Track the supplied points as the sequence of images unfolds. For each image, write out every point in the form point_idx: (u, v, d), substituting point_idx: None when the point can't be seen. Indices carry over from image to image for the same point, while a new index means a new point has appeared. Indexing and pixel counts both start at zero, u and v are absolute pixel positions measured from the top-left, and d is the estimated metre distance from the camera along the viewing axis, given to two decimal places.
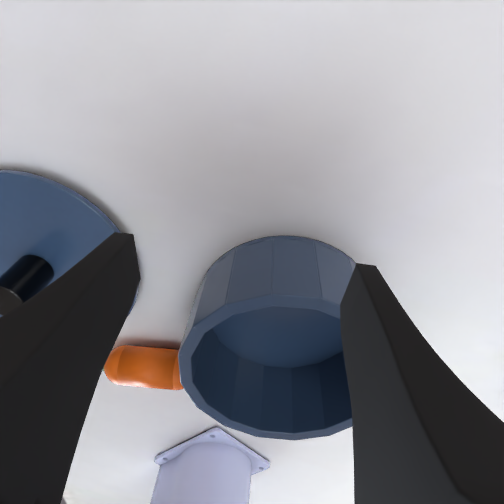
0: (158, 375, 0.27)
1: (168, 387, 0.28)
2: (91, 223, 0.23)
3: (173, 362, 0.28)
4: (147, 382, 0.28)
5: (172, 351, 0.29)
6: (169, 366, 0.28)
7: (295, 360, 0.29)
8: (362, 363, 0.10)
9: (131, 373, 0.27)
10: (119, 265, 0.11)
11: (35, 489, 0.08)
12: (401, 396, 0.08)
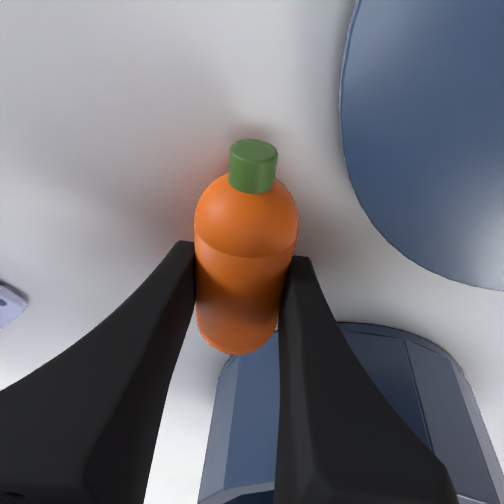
0: (256, 325, 0.12)
1: (222, 339, 0.12)
2: None
3: (274, 327, 0.13)
4: (237, 311, 0.11)
5: None
6: (272, 328, 0.13)
7: None
8: (286, 353, 0.10)
9: (263, 283, 0.10)
10: (189, 274, 0.11)
11: (129, 501, 0.08)
12: (300, 382, 0.08)
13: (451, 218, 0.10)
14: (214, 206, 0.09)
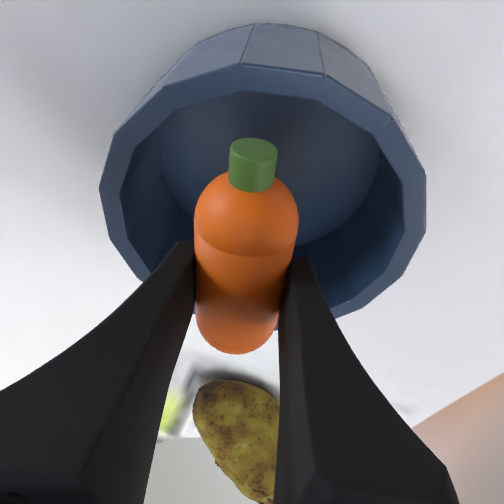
0: (256, 324, 0.12)
1: (222, 338, 0.12)
2: None
3: (274, 326, 0.13)
4: (237, 310, 0.11)
5: None
6: (271, 327, 0.13)
7: (178, 178, 0.20)
8: (286, 353, 0.10)
9: (262, 283, 0.10)
10: (189, 274, 0.11)
11: (129, 501, 0.08)
12: (300, 383, 0.08)
13: None
14: (214, 205, 0.09)
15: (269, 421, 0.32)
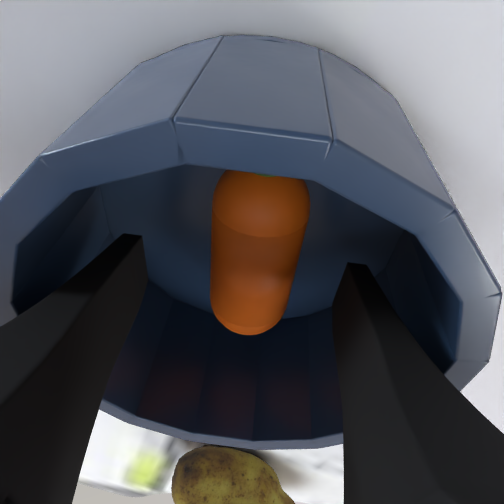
0: (277, 301, 0.13)
1: (245, 320, 0.13)
2: None
3: (287, 302, 0.14)
4: (261, 290, 0.12)
5: None
6: (287, 303, 0.14)
7: None
8: (352, 362, 0.10)
9: (286, 260, 0.11)
10: (129, 266, 0.11)
11: (48, 491, 0.08)
12: (387, 394, 0.08)
13: None
14: (238, 193, 0.10)
15: (262, 499, 0.27)
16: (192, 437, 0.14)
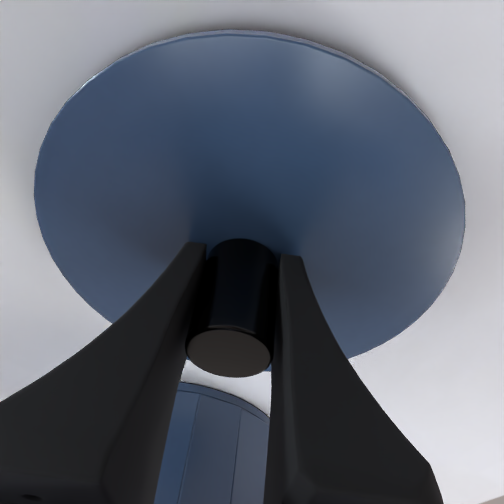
0: None
1: None
2: None
3: None
4: None
5: None
6: None
7: None
8: (277, 352, 0.10)
9: None
10: (197, 275, 0.11)
11: (141, 503, 0.08)
12: (288, 381, 0.08)
13: None
14: None
15: None
16: None
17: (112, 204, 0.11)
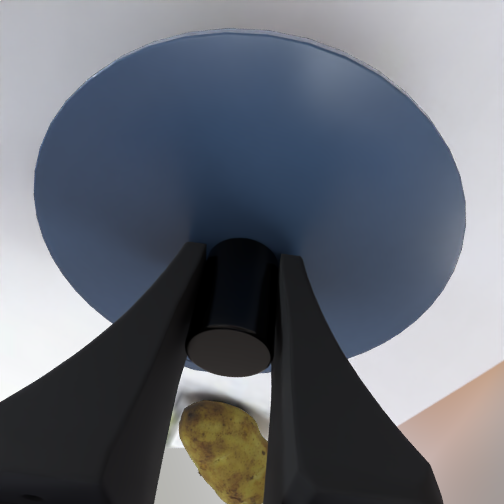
0: None
1: None
2: None
3: None
4: None
5: None
6: None
7: None
8: (277, 352, 0.10)
9: None
10: (198, 275, 0.11)
11: (141, 503, 0.08)
12: (288, 381, 0.08)
13: None
14: None
15: (245, 437, 0.37)
16: (196, 367, 0.24)
17: (111, 204, 0.11)
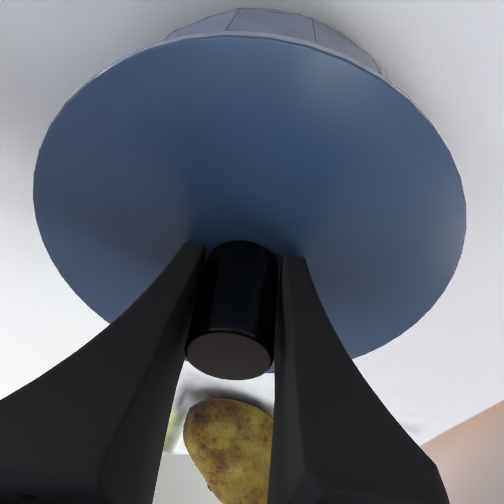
0: None
1: None
2: None
3: None
4: None
5: None
6: None
7: None
8: (281, 352, 0.10)
9: None
10: (196, 275, 0.11)
11: (139, 503, 0.08)
12: (293, 382, 0.08)
13: None
14: None
15: (265, 443, 0.30)
16: None
17: (111, 206, 0.11)
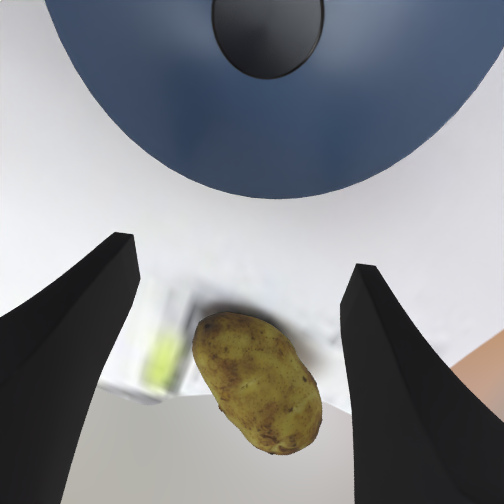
0: None
1: None
2: (364, 158, 0.13)
3: None
4: None
5: None
6: None
7: None
8: (362, 363, 0.10)
9: None
10: (119, 265, 0.11)
11: (35, 489, 0.08)
12: (401, 396, 0.08)
13: (182, 128, 0.13)
14: None
15: (281, 357, 0.28)
16: None
17: None
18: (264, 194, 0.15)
